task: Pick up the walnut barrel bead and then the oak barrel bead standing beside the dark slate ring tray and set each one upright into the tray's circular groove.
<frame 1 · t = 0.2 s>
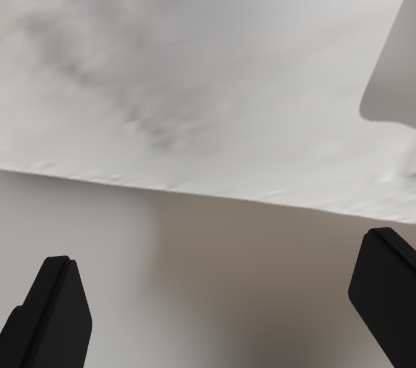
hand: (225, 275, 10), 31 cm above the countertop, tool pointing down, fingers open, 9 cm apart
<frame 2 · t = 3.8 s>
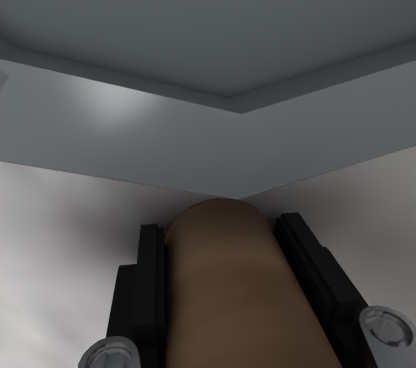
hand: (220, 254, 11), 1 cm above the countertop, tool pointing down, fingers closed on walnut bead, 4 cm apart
walnut bead: (218, 244, 11), on the countertop, touching gripper
when the fingers open (3 cm above the countertop, at t = 7.6 s): walnut bead drops 1 cm, resting on slate tray.
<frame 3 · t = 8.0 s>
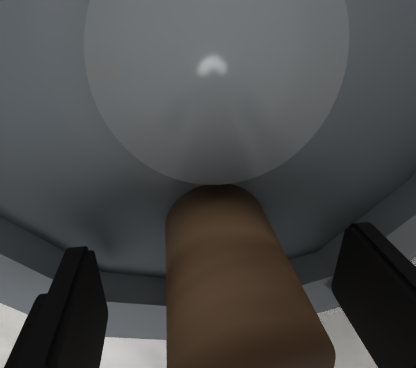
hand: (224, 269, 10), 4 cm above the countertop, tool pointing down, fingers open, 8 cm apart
slate tray: (209, 57, 11), on the countertop
walnut bead: (215, 226, 12), point 1 cm above the countertop, touching slate tray
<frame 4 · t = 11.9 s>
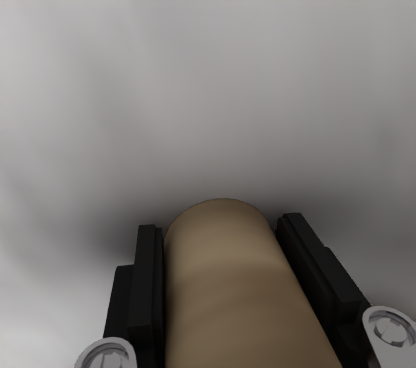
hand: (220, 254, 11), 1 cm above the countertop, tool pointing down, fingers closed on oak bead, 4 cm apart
oak bead: (218, 245, 11), on the countertop, touching gripper
when the fingers open (3 cm above the countertop, at t = 16.9 s): oak bead drops 1 cm, resting on slate tray.
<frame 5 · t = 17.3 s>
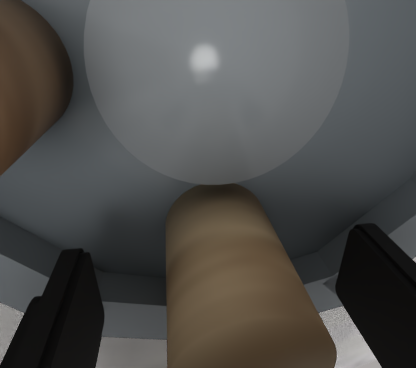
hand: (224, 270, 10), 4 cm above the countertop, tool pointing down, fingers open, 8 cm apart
slate tray: (209, 57, 11), on the countertop
oak bead: (215, 225, 12), point 1 cm above the countertop, touching slate tray
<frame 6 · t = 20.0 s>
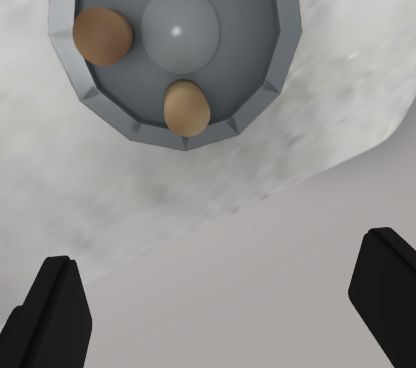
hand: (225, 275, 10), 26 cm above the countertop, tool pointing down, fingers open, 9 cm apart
slate tray: (179, 32, 30), on the countertop
walnut bead: (112, 34, 28), point 1 cm above the countertop, touching slate tray
oak bead: (183, 98, 32), point 1 cm above the countertop, touching slate tray
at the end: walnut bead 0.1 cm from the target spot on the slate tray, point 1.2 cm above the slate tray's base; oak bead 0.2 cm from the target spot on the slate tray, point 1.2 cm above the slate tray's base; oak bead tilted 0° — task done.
